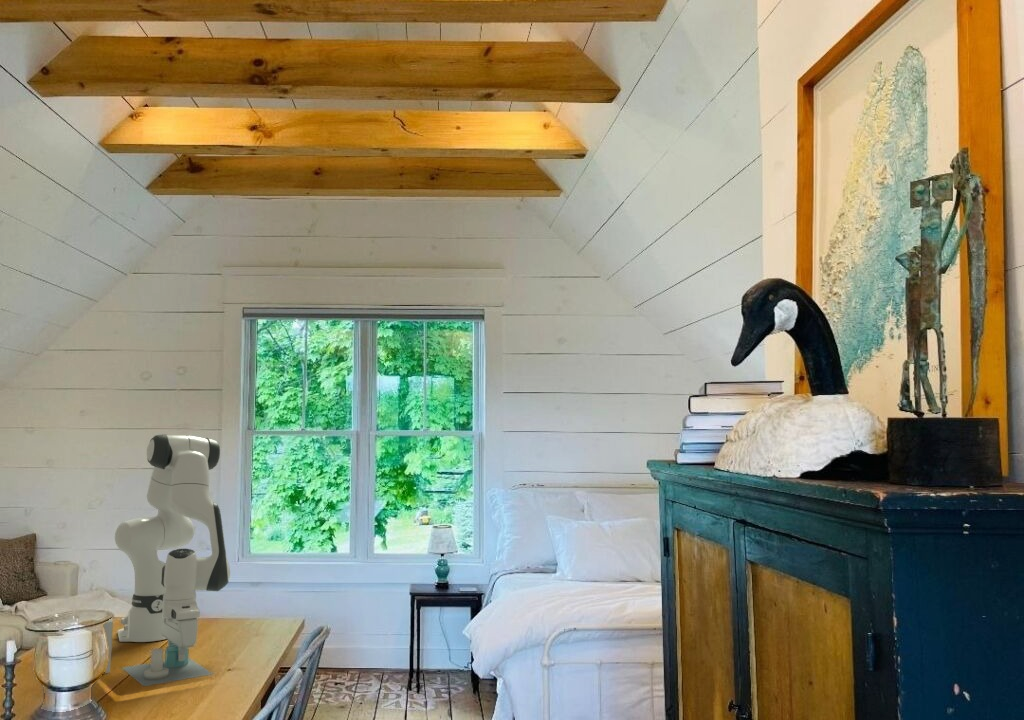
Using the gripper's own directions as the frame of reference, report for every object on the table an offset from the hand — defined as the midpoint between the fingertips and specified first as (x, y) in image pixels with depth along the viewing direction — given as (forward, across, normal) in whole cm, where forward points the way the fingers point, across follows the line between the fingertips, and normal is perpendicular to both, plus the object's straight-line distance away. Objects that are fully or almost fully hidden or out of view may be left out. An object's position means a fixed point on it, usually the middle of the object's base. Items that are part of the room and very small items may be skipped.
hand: (176, 658), depth 229 cm
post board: (+3, +5, -4) cm, 7 cm away
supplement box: (+3, -8, -20) cm, 22 cm away
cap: (+2, 0, 0) cm, 2 cm away
